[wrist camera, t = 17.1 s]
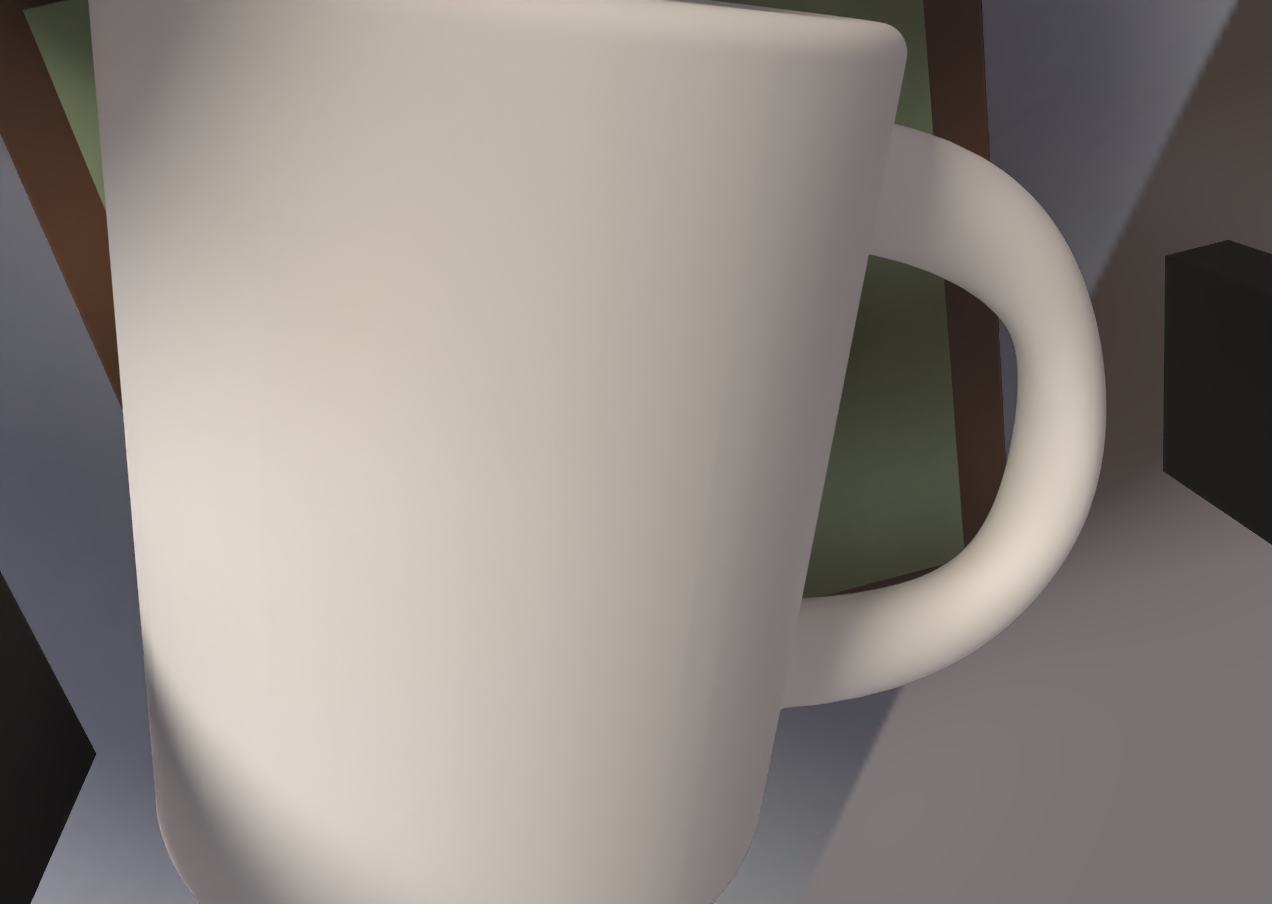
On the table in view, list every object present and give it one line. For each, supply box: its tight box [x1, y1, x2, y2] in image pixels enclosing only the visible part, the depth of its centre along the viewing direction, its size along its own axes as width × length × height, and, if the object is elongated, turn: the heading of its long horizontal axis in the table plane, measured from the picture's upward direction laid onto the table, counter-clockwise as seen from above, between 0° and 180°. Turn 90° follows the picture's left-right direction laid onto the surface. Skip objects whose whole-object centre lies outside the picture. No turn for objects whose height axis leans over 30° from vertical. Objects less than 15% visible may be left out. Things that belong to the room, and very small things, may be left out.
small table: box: [0, 0, 1006, 598], centre depth 20 cm, size 14×14×6 cm
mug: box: [88, 0, 1106, 904], centre depth 13 cm, size 12×10×8 cm
